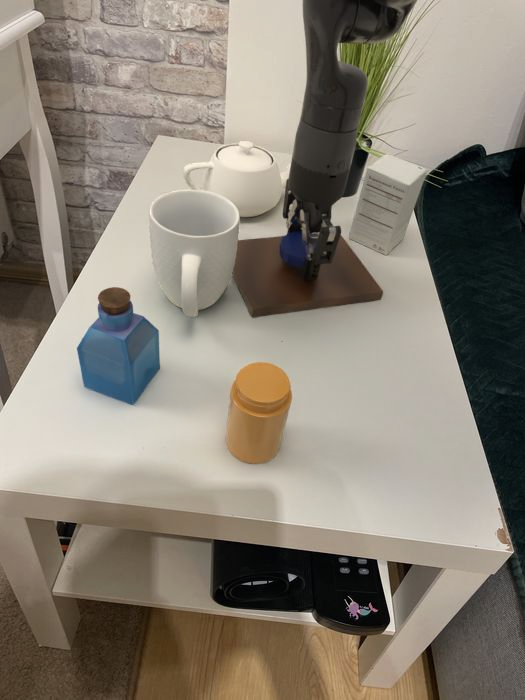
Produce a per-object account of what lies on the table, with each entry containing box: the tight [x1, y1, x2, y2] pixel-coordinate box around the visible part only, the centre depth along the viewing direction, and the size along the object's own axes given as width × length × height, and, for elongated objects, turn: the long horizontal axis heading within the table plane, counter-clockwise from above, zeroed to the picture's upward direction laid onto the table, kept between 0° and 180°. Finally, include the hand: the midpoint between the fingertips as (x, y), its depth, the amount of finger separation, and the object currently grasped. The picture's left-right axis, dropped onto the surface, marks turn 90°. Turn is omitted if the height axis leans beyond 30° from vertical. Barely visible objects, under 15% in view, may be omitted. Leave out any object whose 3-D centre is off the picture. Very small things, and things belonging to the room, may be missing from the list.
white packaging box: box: [348, 153, 428, 256], centre depth 84 cm, size 7×7×13 cm
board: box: [231, 233, 384, 318], centre depth 78 cm, size 20×16×2 cm
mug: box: [148, 188, 241, 318], centre depth 66 cm, size 15×11×13 cm
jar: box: [224, 361, 293, 465], centre depth 53 cm, size 6×6×10 cm
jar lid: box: [279, 231, 318, 268], centre depth 76 cm, size 7×7×2 cm
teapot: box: [182, 140, 291, 218], centre depth 88 cm, size 22×14×11 cm, turn 109°
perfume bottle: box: [76, 286, 161, 406], centre depth 56 cm, size 6×6×12 cm
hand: (300, 264), depth 77 cm, fingers closed on jar lid, 6 cm apart
